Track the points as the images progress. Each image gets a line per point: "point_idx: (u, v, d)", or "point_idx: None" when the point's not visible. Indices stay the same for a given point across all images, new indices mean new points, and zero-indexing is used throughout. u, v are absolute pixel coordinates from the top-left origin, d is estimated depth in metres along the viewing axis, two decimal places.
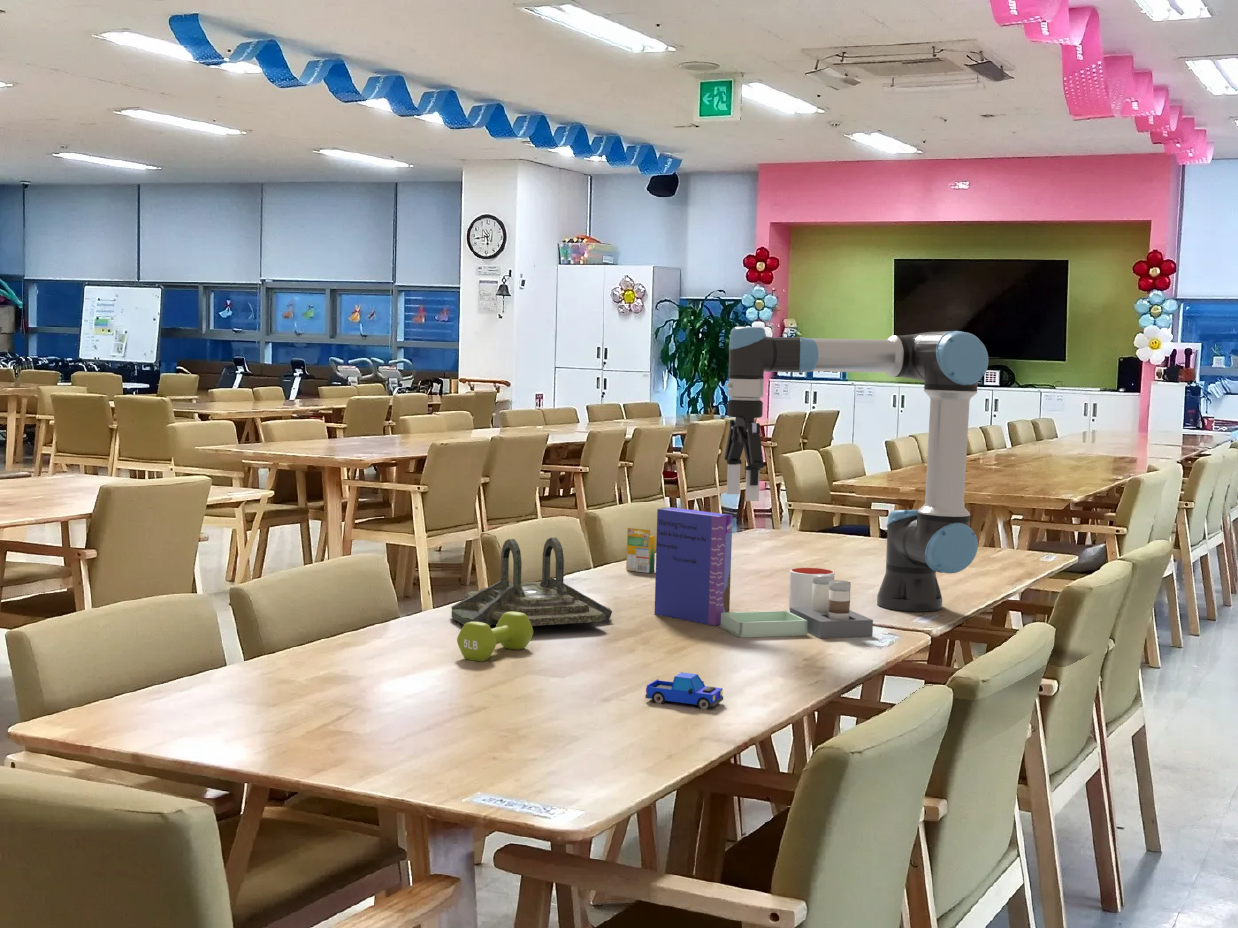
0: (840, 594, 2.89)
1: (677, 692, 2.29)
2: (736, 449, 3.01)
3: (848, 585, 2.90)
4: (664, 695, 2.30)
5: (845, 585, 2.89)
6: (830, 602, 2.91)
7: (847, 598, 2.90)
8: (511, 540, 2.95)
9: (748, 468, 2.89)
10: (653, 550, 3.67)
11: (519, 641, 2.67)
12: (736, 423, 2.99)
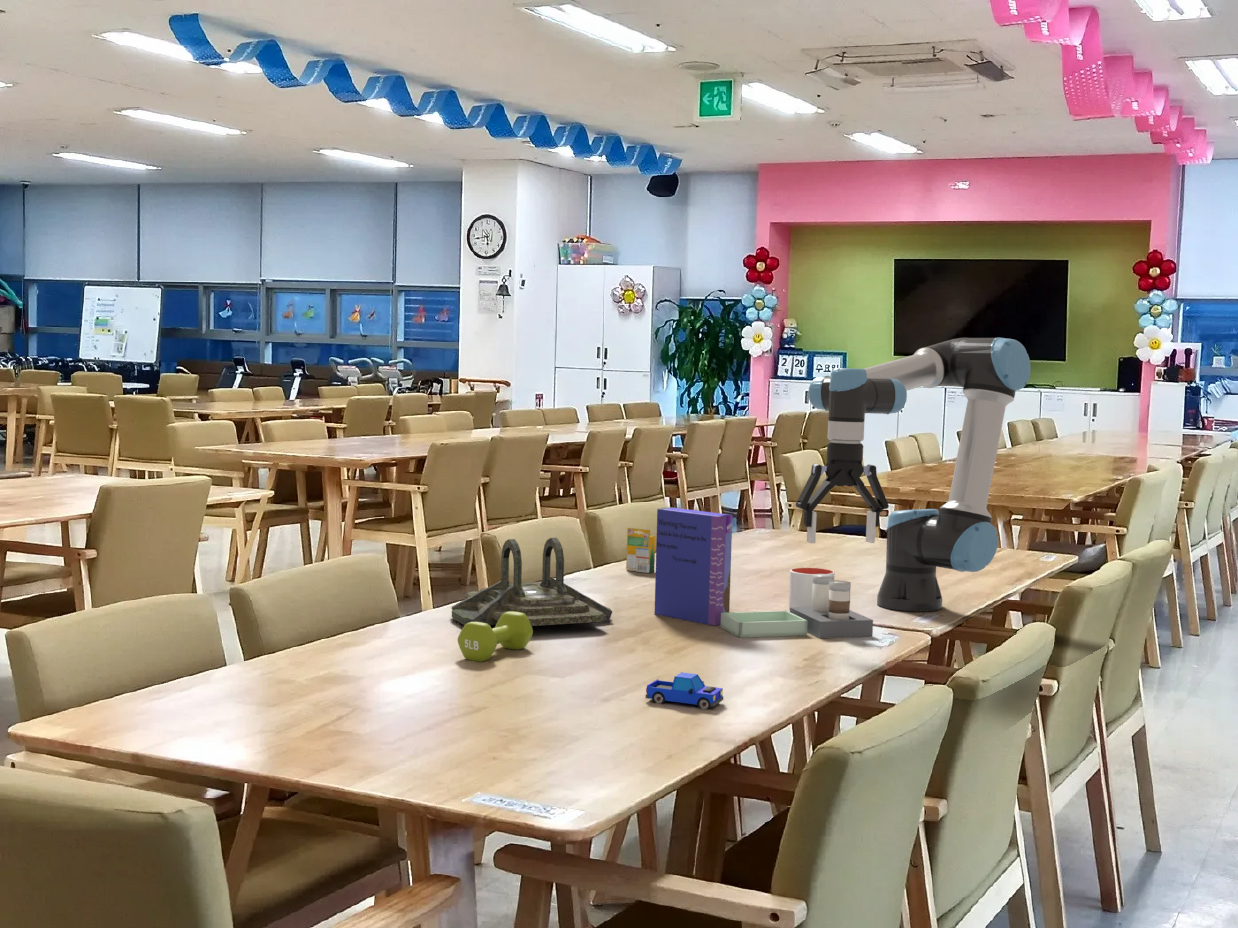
0: (840, 594, 2.89)
1: (677, 692, 2.29)
2: (862, 495, 2.91)
3: (848, 585, 2.90)
4: (664, 695, 2.30)
5: (845, 585, 2.89)
6: (830, 602, 2.91)
7: (847, 598, 2.90)
8: (511, 540, 2.95)
9: None
10: (653, 550, 3.67)
11: (519, 641, 2.67)
12: None
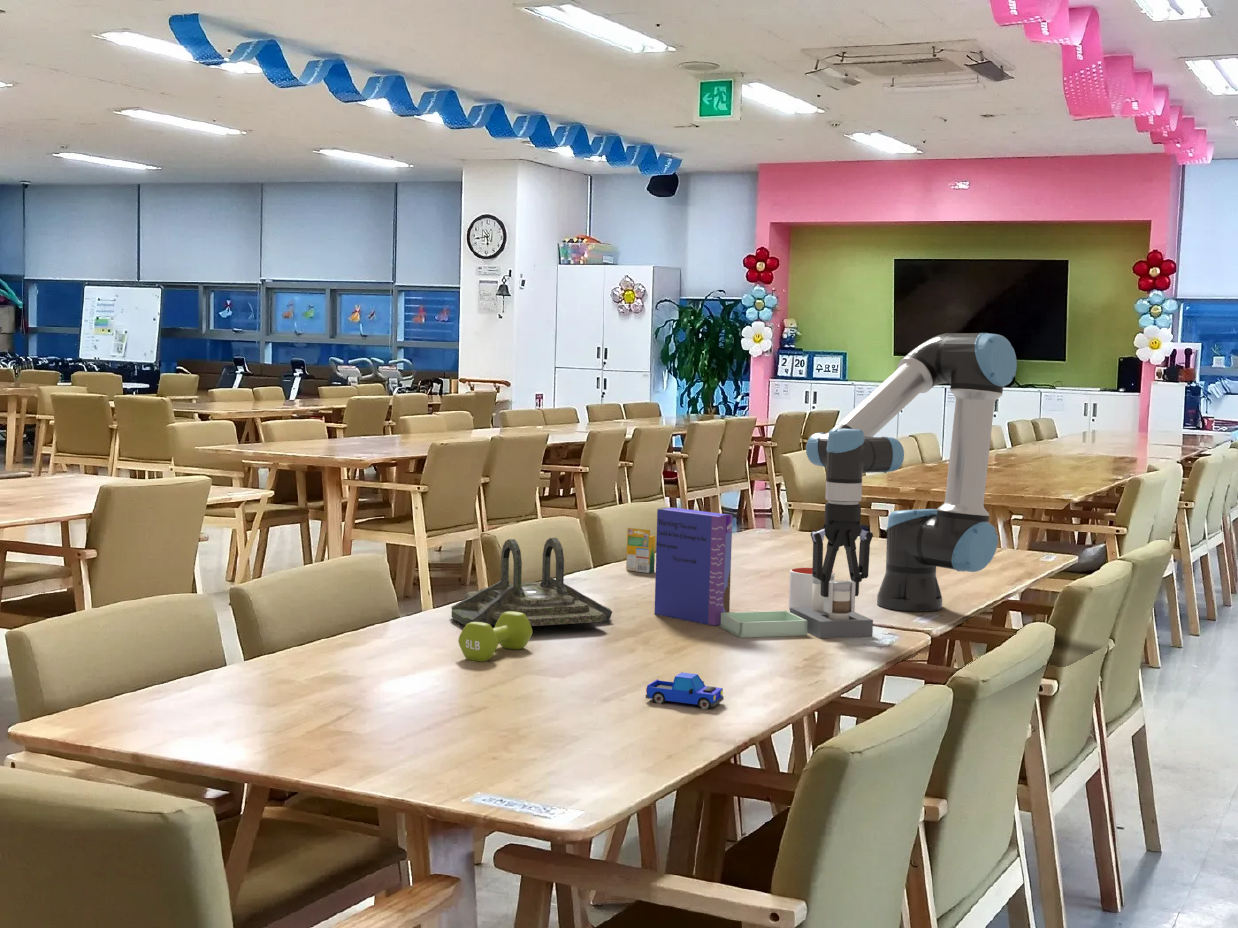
0: (840, 594, 2.89)
1: (677, 692, 2.29)
2: (848, 559, 2.92)
3: (848, 585, 2.90)
4: (664, 695, 2.30)
5: (845, 585, 2.89)
6: None
7: (847, 598, 2.90)
8: (511, 540, 2.95)
9: None
10: (653, 550, 3.67)
11: (519, 640, 2.68)
12: None
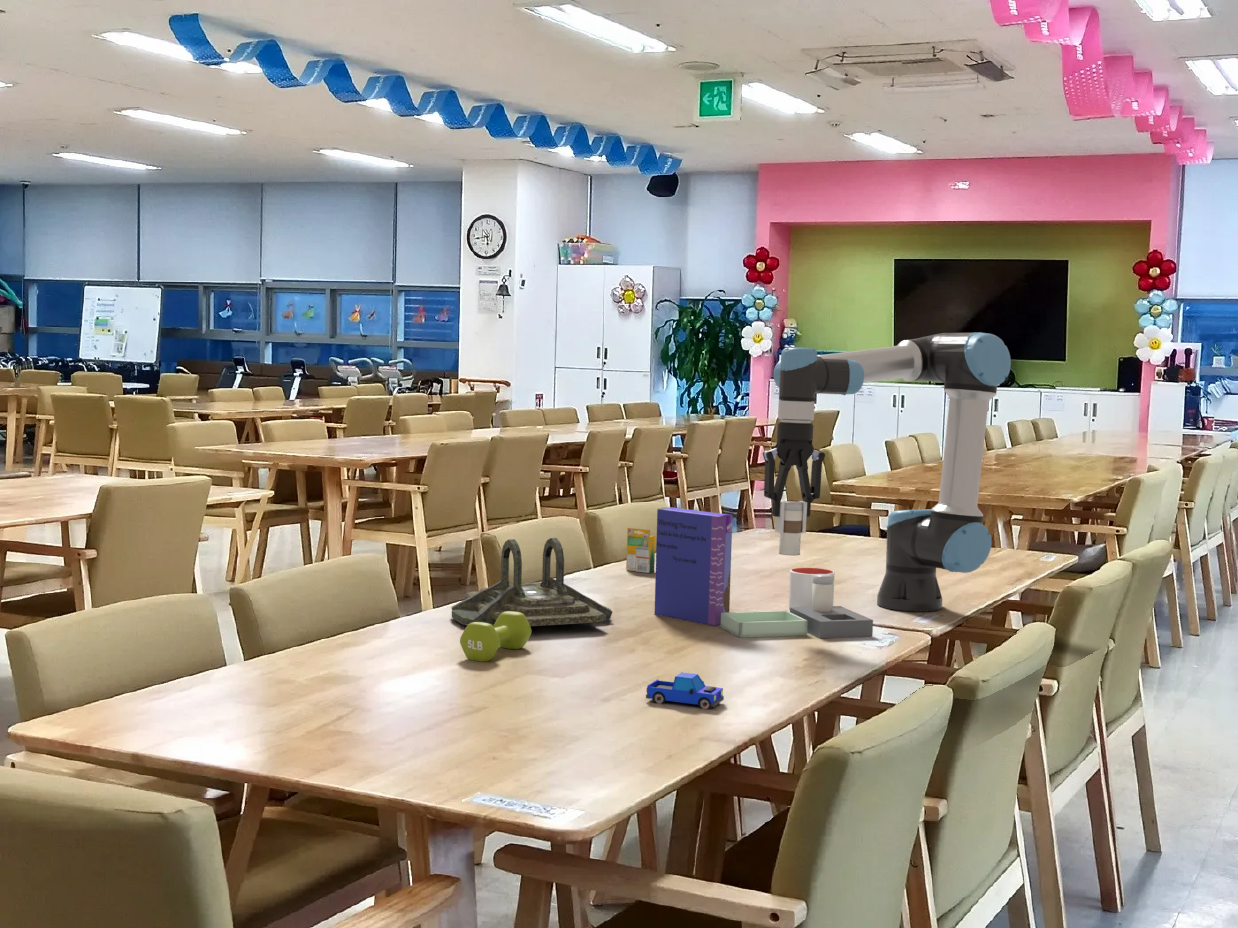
0: (791, 513, 2.88)
1: (677, 692, 2.29)
2: (800, 479, 2.91)
3: (800, 505, 2.89)
4: (665, 695, 2.30)
5: (797, 505, 2.88)
6: None
7: (799, 518, 2.89)
8: (511, 540, 2.95)
9: None
10: (653, 550, 3.67)
11: (519, 640, 2.68)
12: None
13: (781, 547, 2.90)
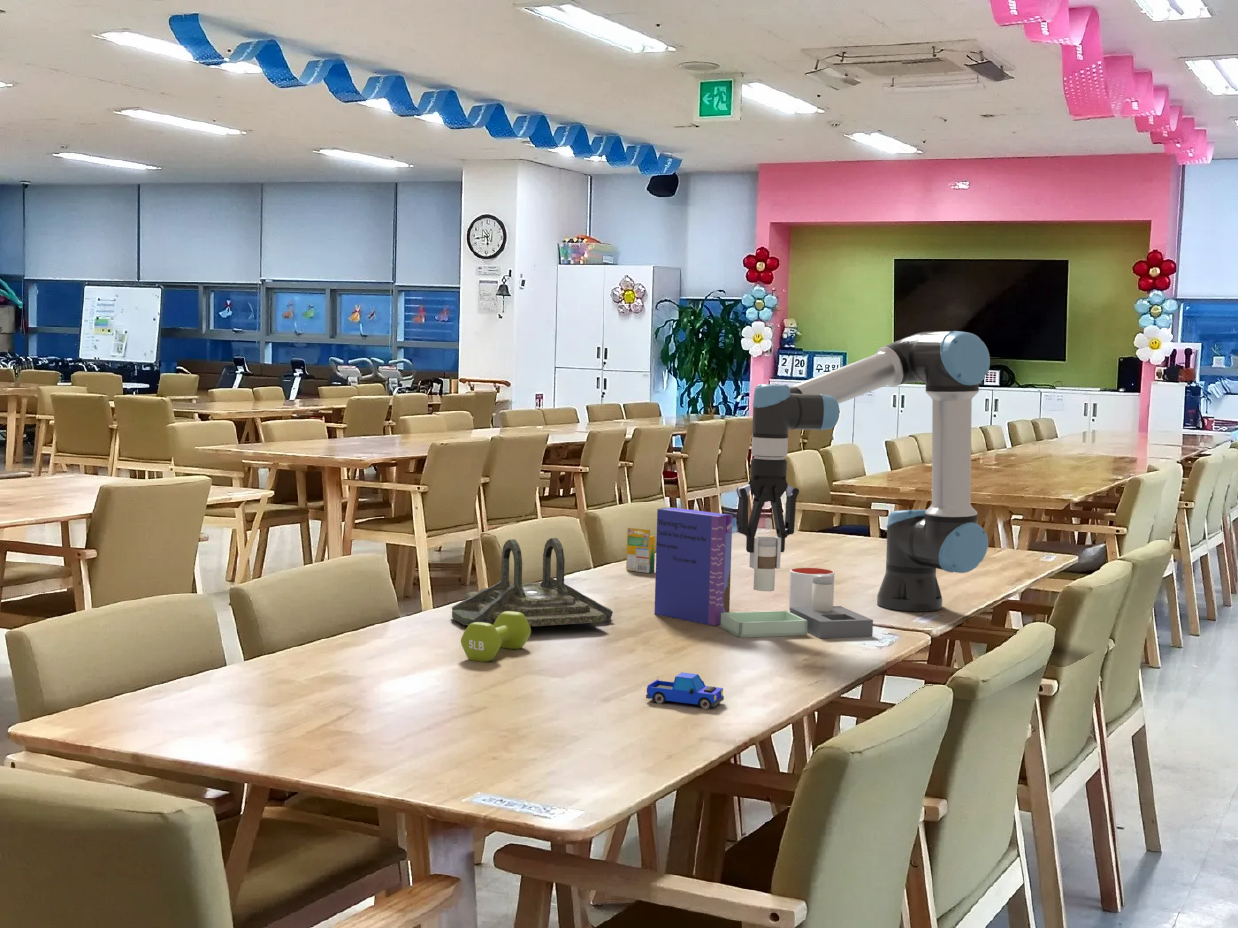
0: (765, 549, 2.89)
1: (678, 692, 2.29)
2: (774, 515, 2.92)
3: (773, 541, 2.90)
4: (665, 695, 2.30)
5: (770, 540, 2.89)
6: None
7: (773, 554, 2.90)
8: (512, 540, 2.94)
9: None
10: (653, 550, 3.67)
11: (518, 640, 2.68)
12: None
13: (755, 583, 2.91)
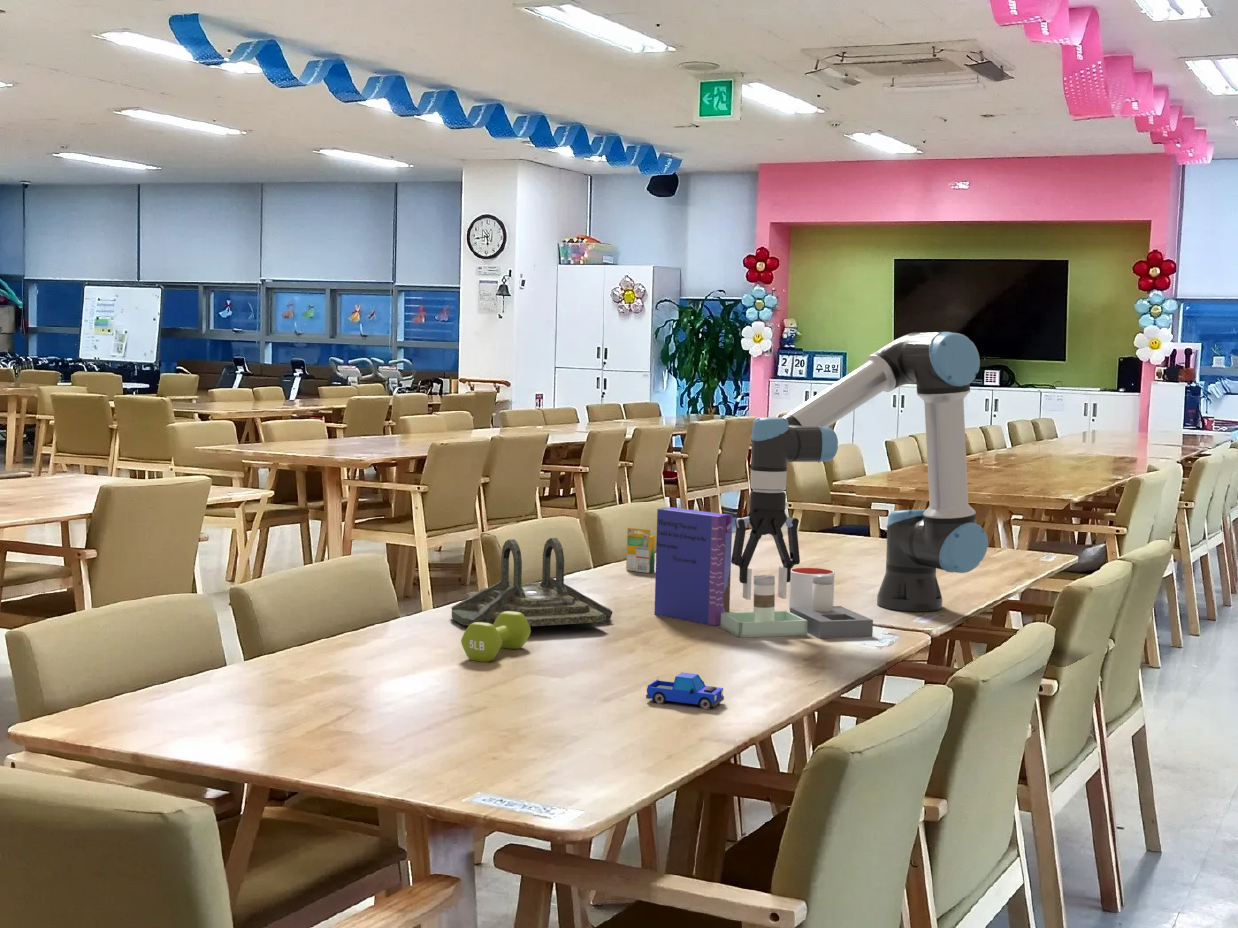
0: (764, 588, 2.90)
1: (678, 692, 2.29)
2: (778, 546, 2.93)
3: (772, 579, 2.91)
4: (665, 695, 2.30)
5: (769, 579, 2.90)
6: (755, 596, 2.91)
7: (772, 592, 2.91)
8: (511, 540, 2.94)
9: None
10: (653, 550, 3.67)
11: (518, 640, 2.68)
12: None
13: (755, 621, 2.92)
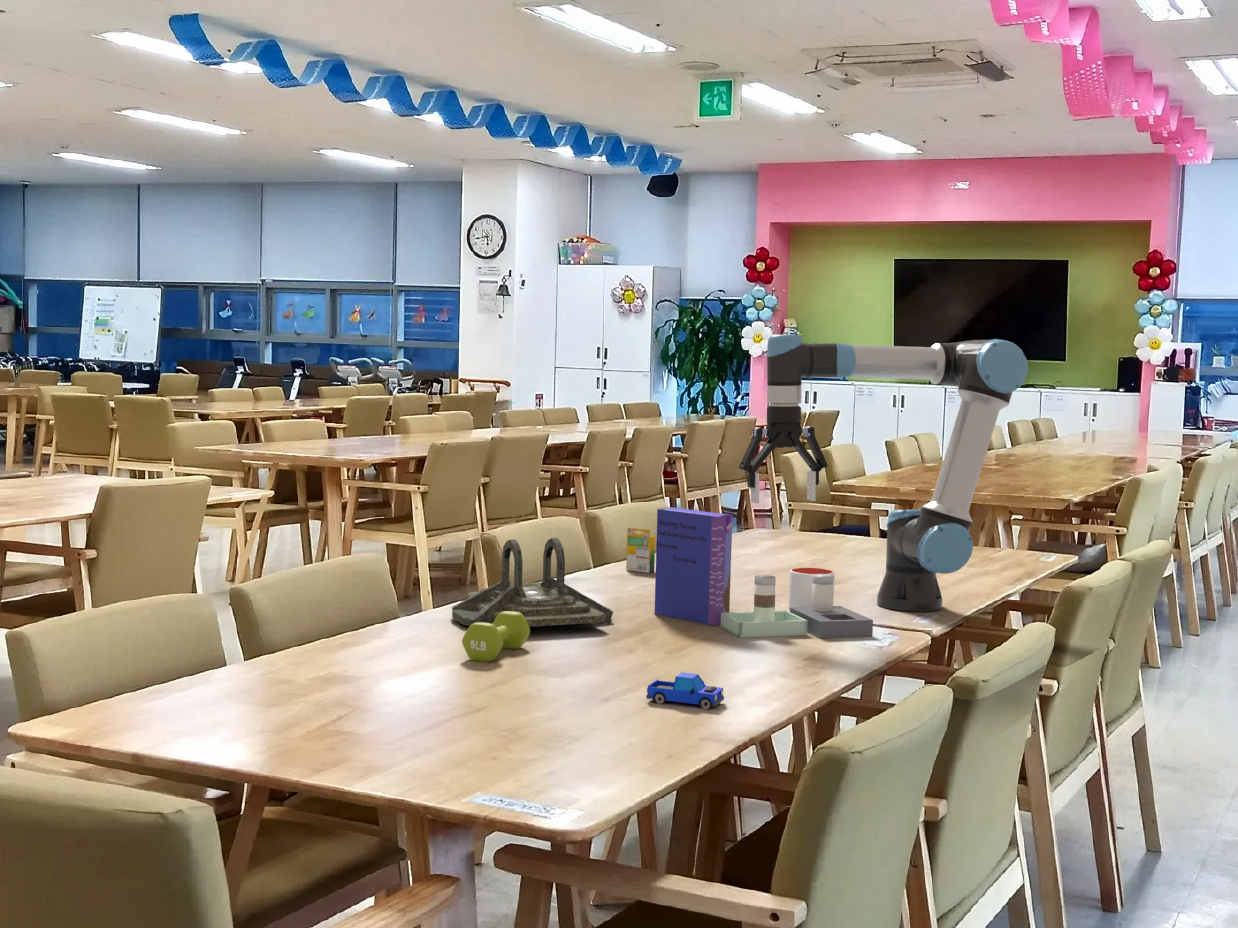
0: (765, 588, 2.90)
1: (678, 692, 2.29)
2: (801, 455, 3.05)
3: (773, 579, 2.91)
4: (665, 695, 2.30)
5: (770, 579, 2.90)
6: (755, 596, 2.91)
7: (772, 592, 2.91)
8: (512, 540, 2.94)
9: None
10: (653, 550, 3.67)
11: (518, 640, 2.68)
12: None
13: (755, 621, 2.92)
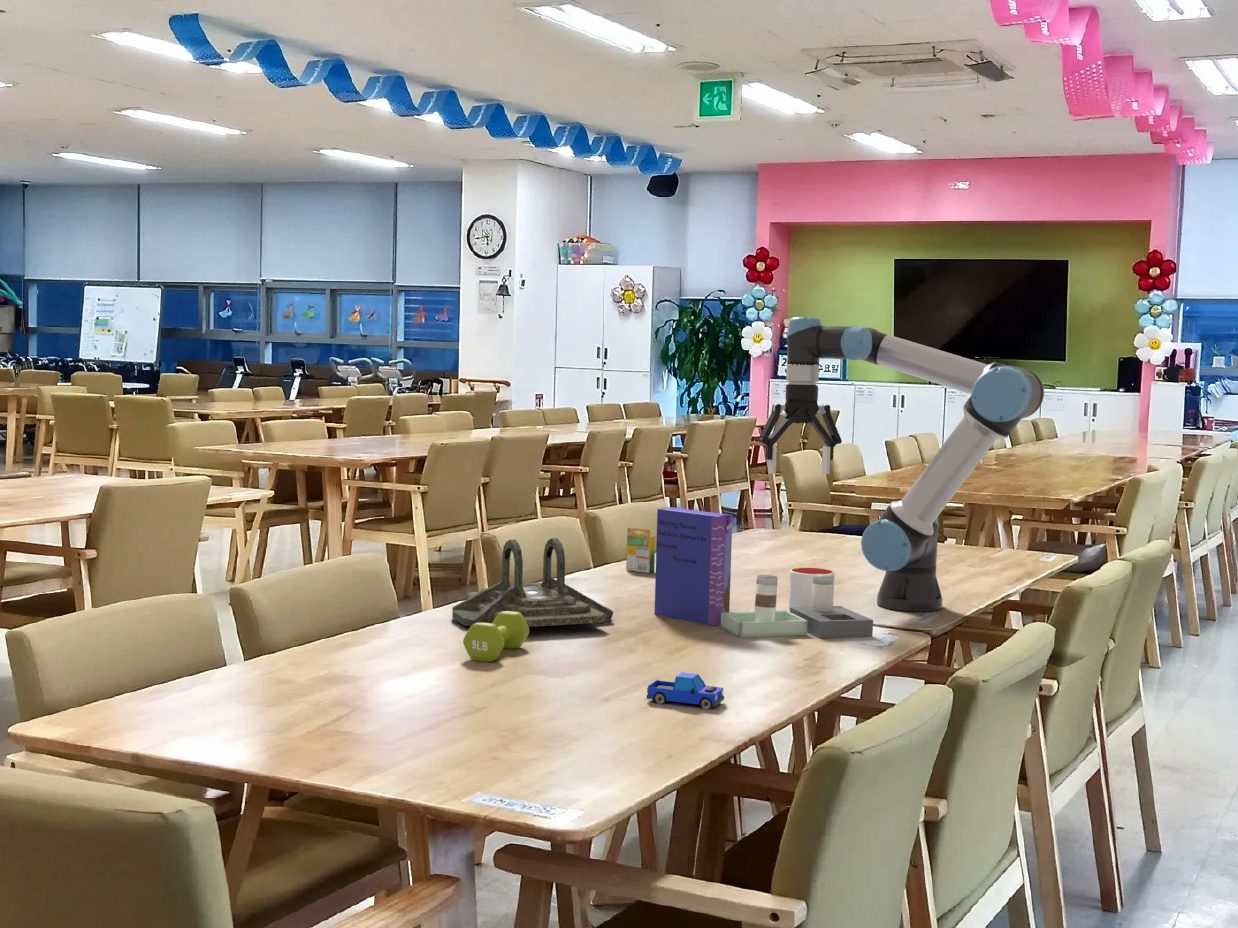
0: (767, 588, 2.90)
1: (678, 692, 2.29)
2: (817, 431, 3.25)
3: (775, 579, 2.91)
4: (666, 695, 2.30)
5: (772, 579, 2.90)
6: (757, 596, 2.91)
7: (774, 592, 2.91)
8: (512, 541, 2.94)
9: None
10: (653, 550, 3.67)
11: (518, 640, 2.68)
12: None
13: (756, 621, 2.92)
